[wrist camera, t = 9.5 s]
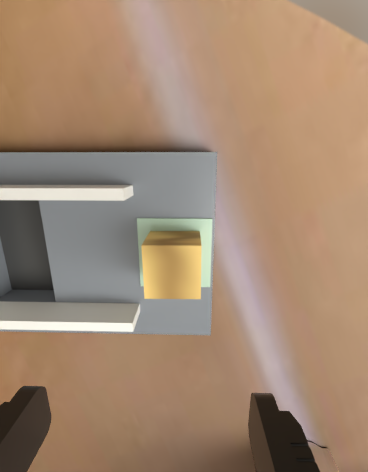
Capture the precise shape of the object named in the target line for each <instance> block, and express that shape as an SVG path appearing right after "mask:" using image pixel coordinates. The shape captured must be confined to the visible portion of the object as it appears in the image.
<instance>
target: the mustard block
mask: <svg viewBox="0 0 368 472" xmlns="http://www.w3.org/2000/svg"><path fill="white" fill-rule="evenodd" d="M141 248H142V265H143V282H144V299H201V250H202V245H201V237H200V231H150V232H149V234H148V235H147V237H146V239H145V240H144V242H143V244H142V245H141Z"/></svg>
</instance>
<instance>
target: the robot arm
mask: <svg viewBox="0 0 368 472" xmlns="http://www.w3.org/2000/svg"><path fill="white" fill-rule="evenodd" d="M50 423H51V412H50V407H49V402H48V397H47V392H46V388H45V387H42V386H23V387H22V388H20V389H19V390H18V392H17V393H16V394H15V396H14V397H13V398H12V399H11V401H10V402H4V403H3V404H1V405H0V472H27V470H28V469H29V467H30V465H31V463H32V461H33V459H34V457H35V456H36V454H37V452H38V450H39V448H40V446H41V444H42V443H43V441H44V439H45V437H46V435H47V433H48V430H49V427H50ZM248 427H249V438H250V444H251V449H252V453H253V458H254V463H255V468H256V472H340V471H339V469H338V467H337V465H336V463H335V461H334V459H333V457H332V455H331V453H330V451H329V449H328V448H321V447H319V446H317V445H316V444H314V443H311V442H308V441H307V439H306V437H305V434H304V432H303V430H302V427H301V425H300V424H299V423H298V422H297V420H296V419H295V418H294V417H293V415H292V414H291V413H290V412H289V411H279V409H278V407H277V404H276V401H275V398H274V396H273V394H271V393H252V394H251V401H250V411H249V422H248Z"/></svg>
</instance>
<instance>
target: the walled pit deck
mask: <svg viewBox="0 0 368 472" xmlns="http://www.w3.org/2000/svg"><path fill="white" fill-rule="evenodd" d="M216 172H217V152H0V331H16V332H69V333H121V334H174V335H211V309H212V282H213V254H214V227H215V199H216ZM150 231H200V237H201V245H202V250H201V299H144V282H143V265H142V248H141V245H142V244H143V242H144V240H145V239H146V237H147V235H148V234H149V232H150Z"/></svg>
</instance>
